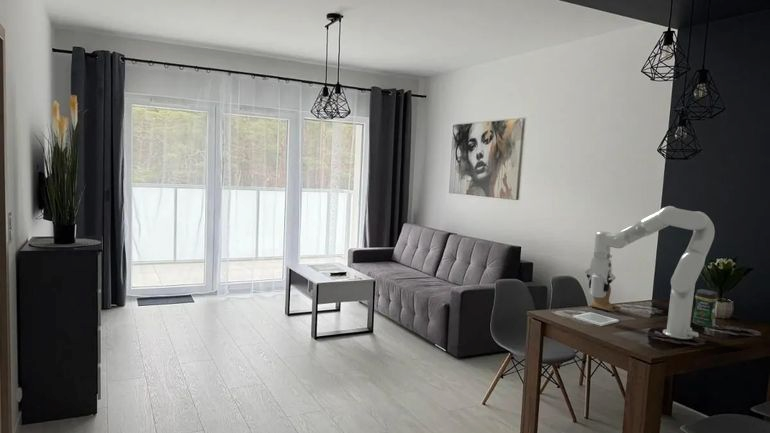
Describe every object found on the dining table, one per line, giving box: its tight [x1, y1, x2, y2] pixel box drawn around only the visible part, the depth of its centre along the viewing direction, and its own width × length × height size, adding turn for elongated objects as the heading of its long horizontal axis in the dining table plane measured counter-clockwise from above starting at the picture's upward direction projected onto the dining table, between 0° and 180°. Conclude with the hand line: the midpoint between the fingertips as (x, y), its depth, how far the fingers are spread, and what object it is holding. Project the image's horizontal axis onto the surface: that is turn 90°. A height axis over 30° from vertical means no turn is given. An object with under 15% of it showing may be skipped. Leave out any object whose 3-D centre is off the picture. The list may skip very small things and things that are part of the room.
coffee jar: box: [691, 288, 719, 328], centre depth 275 cm, size 10×8×19 cm
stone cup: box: [589, 284, 622, 312], centre depth 298 cm, size 15×12×15 cm
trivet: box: [572, 311, 620, 327], centre depth 275 cm, size 16×16×1 cm
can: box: [590, 273, 606, 298], centre depth 273 cm, size 8×8×12 cm
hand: (598, 289), depth 273 cm, fingers closed on can, 7 cm apart
